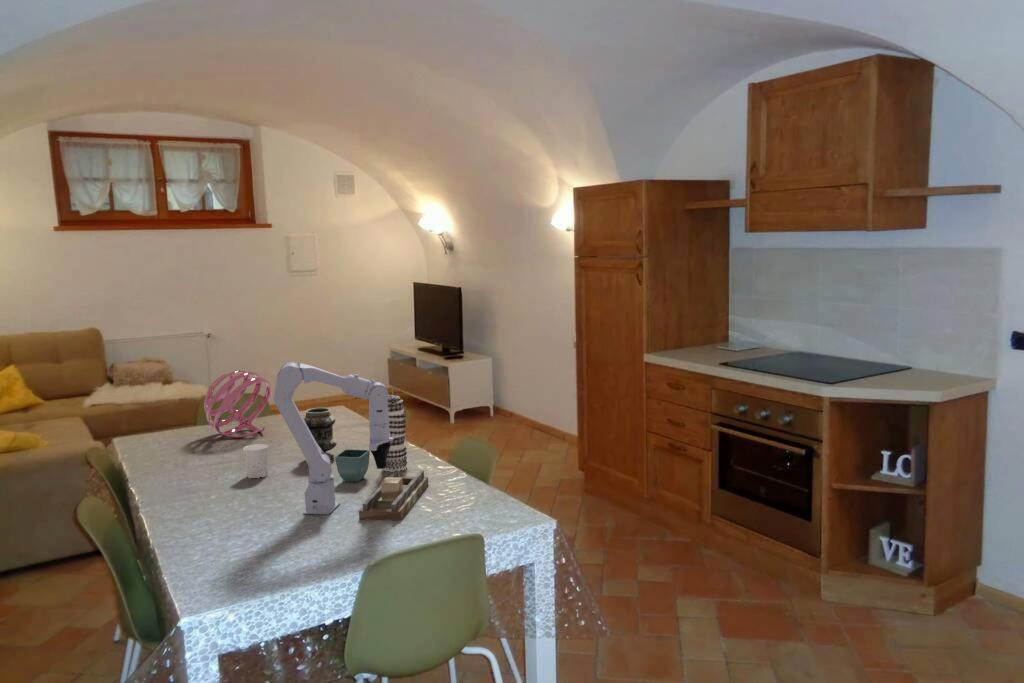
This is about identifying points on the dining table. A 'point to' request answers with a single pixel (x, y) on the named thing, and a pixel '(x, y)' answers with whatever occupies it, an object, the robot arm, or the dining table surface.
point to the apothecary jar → (321, 428)
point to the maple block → (391, 487)
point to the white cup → (256, 460)
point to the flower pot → (352, 464)
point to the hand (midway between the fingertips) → (381, 468)
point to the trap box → (394, 507)
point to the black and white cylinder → (396, 435)
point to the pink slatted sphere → (233, 399)
